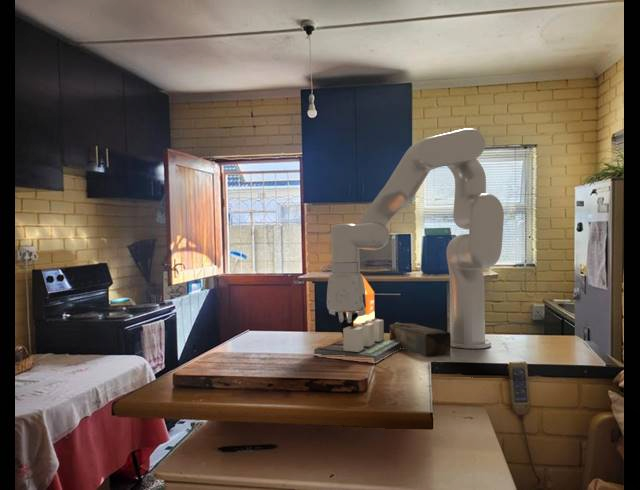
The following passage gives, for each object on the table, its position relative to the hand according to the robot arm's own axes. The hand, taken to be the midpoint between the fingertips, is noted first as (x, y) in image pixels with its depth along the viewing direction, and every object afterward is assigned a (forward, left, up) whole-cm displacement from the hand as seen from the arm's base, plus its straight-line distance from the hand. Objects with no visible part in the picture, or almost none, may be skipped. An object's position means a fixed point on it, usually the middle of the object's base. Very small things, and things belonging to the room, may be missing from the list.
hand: (347, 336), depth 125 cm
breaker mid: (0, +5, -2) cm, 5 cm away
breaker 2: (-7, +5, -2) cm, 9 cm away
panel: (0, +4, -4) cm, 5 cm away
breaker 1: (+7, +5, -2) cm, 9 cm away
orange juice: (-14, -3, -4) cm, 15 cm away
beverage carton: (-11, +16, -5) cm, 20 cm away
